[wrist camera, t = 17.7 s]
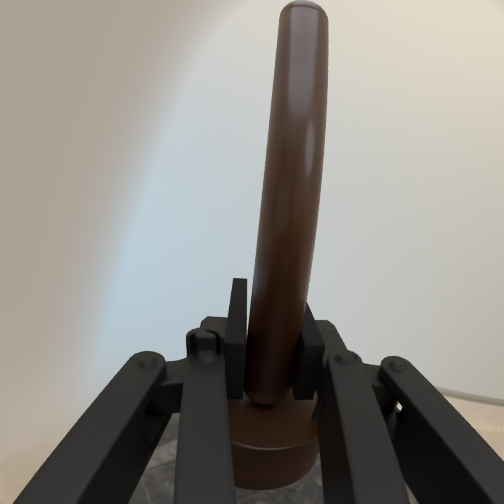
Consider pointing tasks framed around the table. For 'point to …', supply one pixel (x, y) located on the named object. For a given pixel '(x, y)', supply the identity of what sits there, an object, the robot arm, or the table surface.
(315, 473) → the bowl
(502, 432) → the table surface
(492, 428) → the table surface
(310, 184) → the brown peg on base
